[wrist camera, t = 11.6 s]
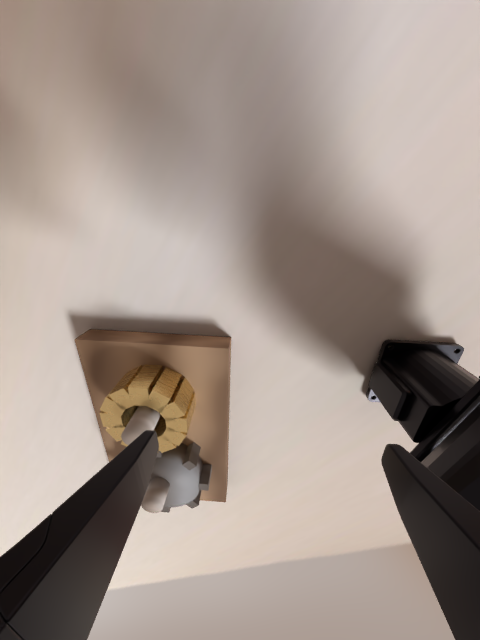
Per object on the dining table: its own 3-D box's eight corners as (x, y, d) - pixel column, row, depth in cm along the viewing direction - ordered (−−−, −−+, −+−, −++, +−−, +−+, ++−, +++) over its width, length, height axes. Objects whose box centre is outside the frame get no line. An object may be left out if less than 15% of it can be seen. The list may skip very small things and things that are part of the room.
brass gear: (193, 367, 19) (184, 391, 17) (197, 426, 22) (189, 455, 19) (114, 362, 20) (91, 385, 17) (127, 422, 22) (109, 449, 20)
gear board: (231, 337, 20) (222, 384, 14) (227, 484, 29) (220, 552, 23) (90, 329, 21) (24, 371, 15) (126, 476, 29) (94, 541, 23)
